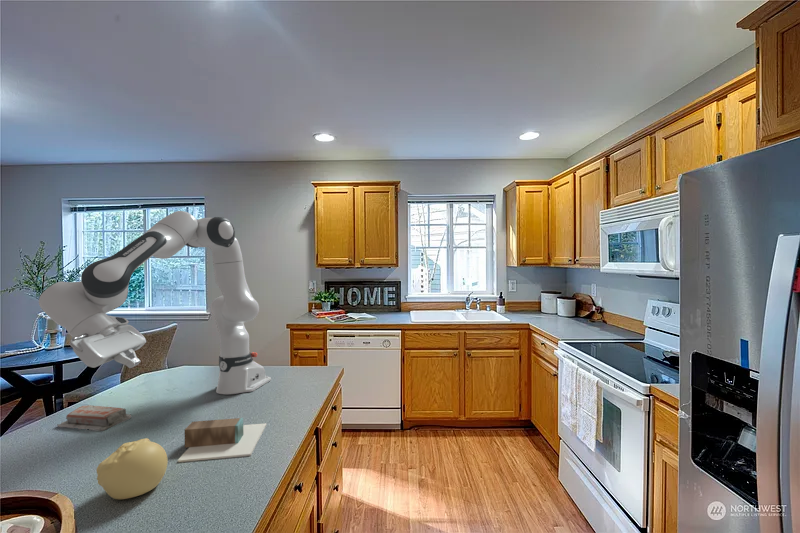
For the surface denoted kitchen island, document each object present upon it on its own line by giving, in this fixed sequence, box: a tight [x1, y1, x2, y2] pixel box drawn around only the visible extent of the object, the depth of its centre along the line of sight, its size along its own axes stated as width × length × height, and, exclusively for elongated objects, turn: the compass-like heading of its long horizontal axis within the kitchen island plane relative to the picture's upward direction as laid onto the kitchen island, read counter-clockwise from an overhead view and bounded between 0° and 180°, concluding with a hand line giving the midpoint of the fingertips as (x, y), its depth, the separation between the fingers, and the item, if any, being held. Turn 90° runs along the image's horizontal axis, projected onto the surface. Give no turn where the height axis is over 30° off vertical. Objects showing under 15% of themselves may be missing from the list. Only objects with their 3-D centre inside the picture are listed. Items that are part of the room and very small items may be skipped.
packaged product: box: [57, 405, 132, 432], centre depth 113 cm, size 18×5×10 cm
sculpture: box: [95, 438, 169, 500], centre depth 78 cm, size 11×12×11 cm
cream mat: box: [177, 422, 267, 463], centre depth 99 cm, size 18×18×1 cm
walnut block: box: [184, 417, 244, 449], centre depth 98 cm, size 5×5×14 cm
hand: (135, 365), depth 96 cm, fingers closed
